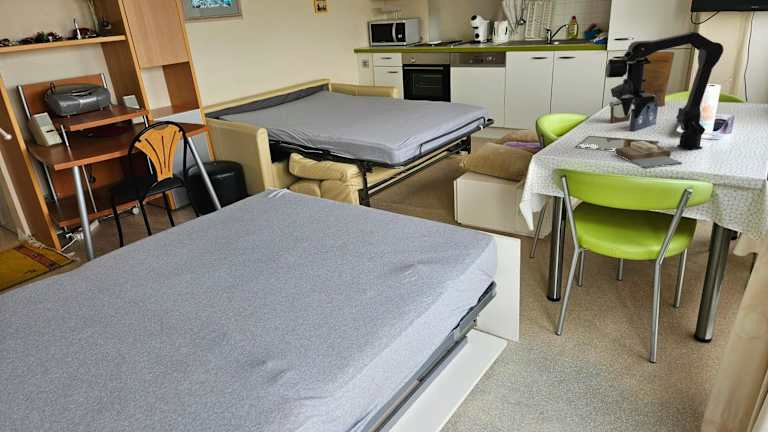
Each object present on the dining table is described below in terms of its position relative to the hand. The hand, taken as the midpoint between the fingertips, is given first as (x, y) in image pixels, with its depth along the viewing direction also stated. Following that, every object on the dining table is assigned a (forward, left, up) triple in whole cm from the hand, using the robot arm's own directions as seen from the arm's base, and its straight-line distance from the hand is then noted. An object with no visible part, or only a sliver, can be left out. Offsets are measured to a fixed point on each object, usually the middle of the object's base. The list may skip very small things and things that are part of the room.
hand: (630, 117), depth 201 cm
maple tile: (0, +10, -11) cm, 14 cm away
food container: (-23, -45, -13) cm, 52 cm away
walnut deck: (0, +10, -13) cm, 16 cm away
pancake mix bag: (-56, -70, -13) cm, 91 cm away
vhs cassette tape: (-26, -29, -13) cm, 41 cm away
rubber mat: (+1, +19, -13) cm, 23 cm away
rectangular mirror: (0, -7, -14) cm, 15 cm away
